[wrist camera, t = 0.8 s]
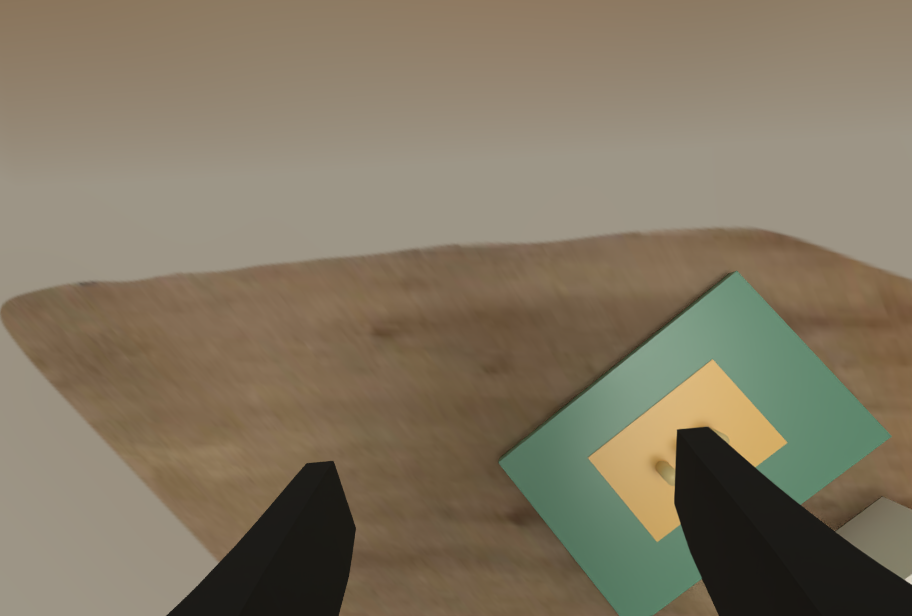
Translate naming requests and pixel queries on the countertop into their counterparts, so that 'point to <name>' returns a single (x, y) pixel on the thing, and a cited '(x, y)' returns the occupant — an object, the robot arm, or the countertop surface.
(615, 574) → the header board
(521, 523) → the countertop surface
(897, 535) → the block
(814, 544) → the robot arm
